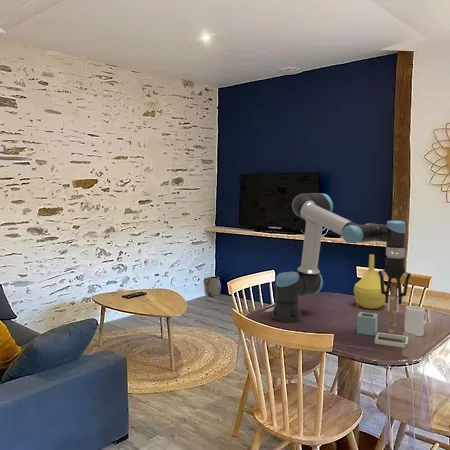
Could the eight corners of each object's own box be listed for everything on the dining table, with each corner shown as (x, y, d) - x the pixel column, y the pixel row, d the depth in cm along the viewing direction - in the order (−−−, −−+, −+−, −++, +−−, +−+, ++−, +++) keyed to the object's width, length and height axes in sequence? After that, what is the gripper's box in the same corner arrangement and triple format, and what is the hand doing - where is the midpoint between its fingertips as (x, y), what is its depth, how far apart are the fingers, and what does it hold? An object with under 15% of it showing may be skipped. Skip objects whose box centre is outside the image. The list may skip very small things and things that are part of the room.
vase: (346, 303, 267) (348, 252, 264) (374, 301, 272) (375, 251, 270) (365, 312, 249) (367, 257, 247) (394, 309, 255) (396, 256, 252)
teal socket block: (356, 335, 211) (357, 316, 210) (359, 330, 218) (359, 311, 217) (374, 337, 207) (375, 318, 207) (376, 332, 215) (377, 313, 214)
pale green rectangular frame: (374, 345, 197) (374, 339, 197) (377, 337, 207) (377, 332, 207) (406, 350, 192) (407, 344, 192) (408, 342, 202) (408, 336, 202)
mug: (420, 329, 221) (422, 304, 220) (433, 334, 213) (435, 309, 211) (400, 331, 217) (401, 306, 216) (412, 337, 209) (414, 311, 208)
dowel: (388, 332, 198) (390, 287, 197) (389, 330, 201) (390, 285, 199) (395, 333, 197) (397, 287, 196) (396, 331, 200) (397, 286, 198)
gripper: (374, 256, 196) (372, 310, 198) (414, 259, 190) (412, 315, 192) (376, 254, 203) (375, 306, 205) (415, 257, 196) (413, 310, 198)
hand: (393, 310), depth 198 cm, fingers closed on dowel, 3 cm apart
